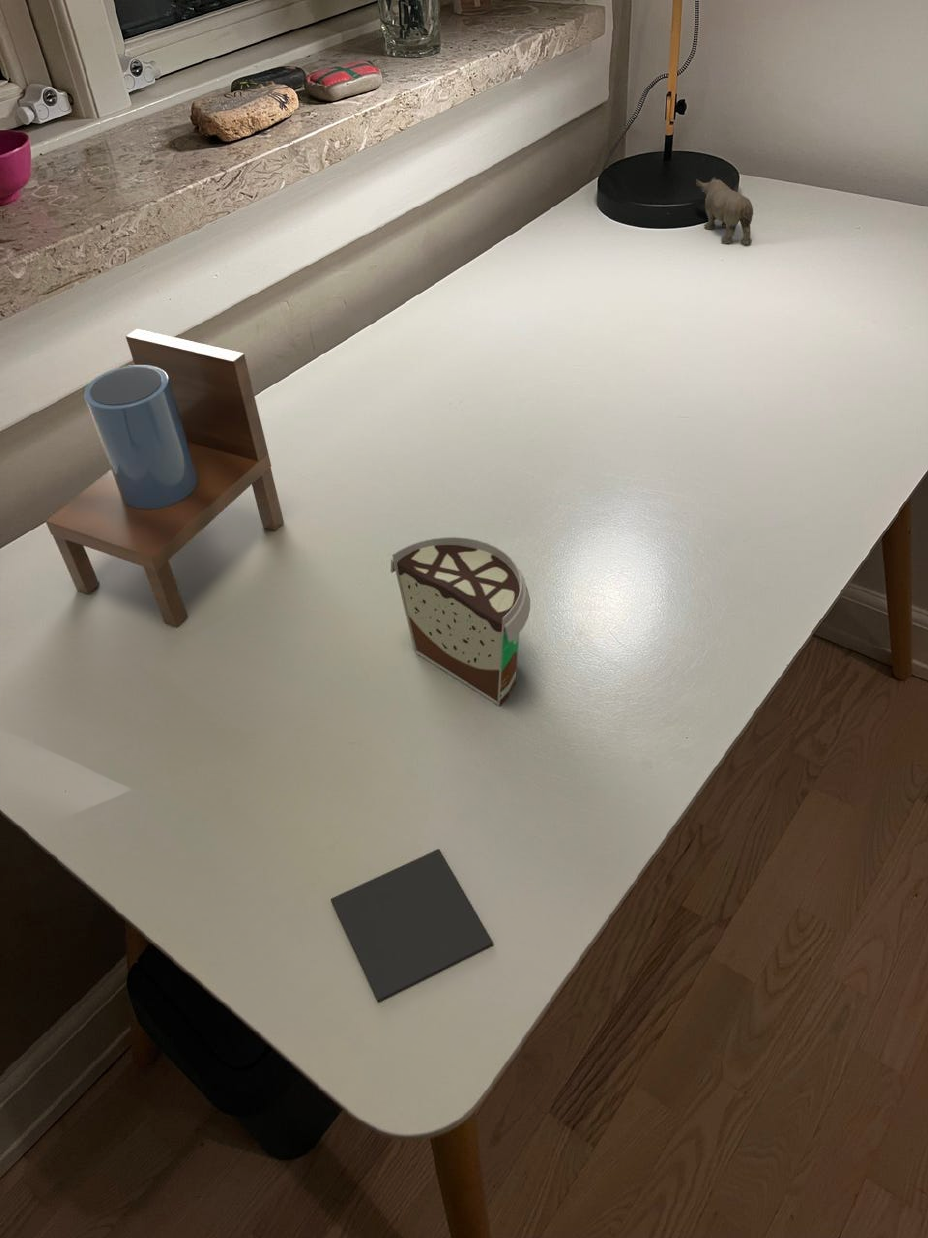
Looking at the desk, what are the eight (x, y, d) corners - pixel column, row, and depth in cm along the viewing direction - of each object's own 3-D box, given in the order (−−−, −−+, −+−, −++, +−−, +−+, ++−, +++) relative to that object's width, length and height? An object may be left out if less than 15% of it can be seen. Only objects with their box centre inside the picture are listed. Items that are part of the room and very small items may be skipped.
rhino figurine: (707, 206, 145) (711, 162, 141) (757, 244, 135) (763, 197, 131) (681, 212, 144) (684, 168, 140) (729, 250, 134) (734, 204, 130)
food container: (564, 670, 82) (564, 576, 75) (514, 716, 79) (508, 621, 72) (452, 604, 88) (443, 512, 82) (401, 644, 85) (387, 551, 79)
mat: (378, 1003, 63) (377, 1000, 63) (331, 901, 68) (330, 898, 68) (493, 945, 65) (493, 942, 65) (439, 851, 71) (438, 848, 70)
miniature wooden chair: (177, 628, 89) (113, 454, 76) (75, 590, 93) (0, 420, 81) (285, 522, 99) (244, 353, 86) (188, 492, 103) (136, 328, 91)
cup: (130, 518, 87) (93, 416, 80) (113, 478, 92) (76, 378, 85) (207, 493, 89) (177, 391, 82) (187, 455, 94) (156, 355, 87)
